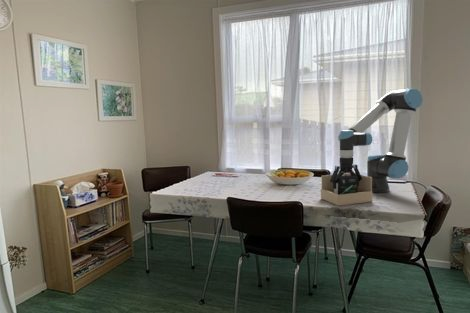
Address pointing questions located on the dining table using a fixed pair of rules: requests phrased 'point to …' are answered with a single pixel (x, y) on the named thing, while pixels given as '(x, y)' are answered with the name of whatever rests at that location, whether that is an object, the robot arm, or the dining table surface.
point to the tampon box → (347, 184)
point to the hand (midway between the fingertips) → (345, 193)
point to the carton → (346, 199)
